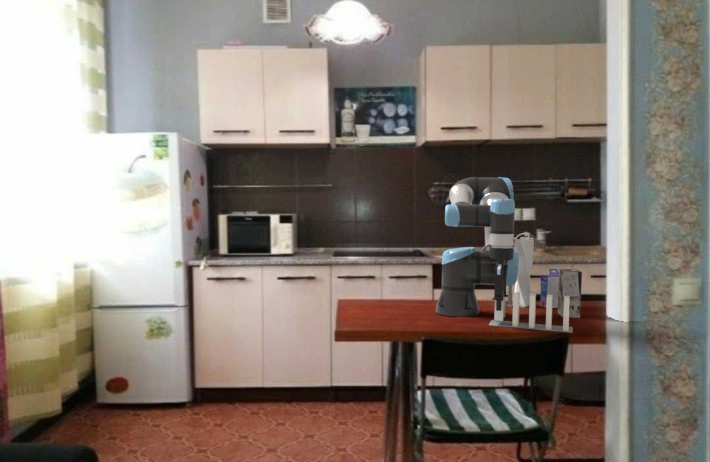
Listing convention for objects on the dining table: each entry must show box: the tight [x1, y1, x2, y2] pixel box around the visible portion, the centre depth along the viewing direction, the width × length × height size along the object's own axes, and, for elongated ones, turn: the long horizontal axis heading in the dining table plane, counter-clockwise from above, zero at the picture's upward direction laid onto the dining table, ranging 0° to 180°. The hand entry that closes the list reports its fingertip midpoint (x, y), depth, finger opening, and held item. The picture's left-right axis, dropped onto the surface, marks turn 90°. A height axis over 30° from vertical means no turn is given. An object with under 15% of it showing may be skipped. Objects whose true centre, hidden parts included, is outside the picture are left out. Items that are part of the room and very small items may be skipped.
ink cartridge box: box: [539, 268, 559, 309], centre depth 209 cm, size 10×6×14 cm, turn 104°
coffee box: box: [557, 268, 583, 319], centre depth 194 cm, size 9×6×16 cm
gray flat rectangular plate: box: [488, 319, 574, 334], centre depth 174 cm, size 25×8×1 cm, turn 69°
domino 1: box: [511, 292, 520, 327], centre depth 175 cm, size 2×5×10 cm, turn 159°
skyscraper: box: [506, 232, 535, 309], centre depth 211 cm, size 8×8×28 cm
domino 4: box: [562, 296, 570, 331], centre depth 170 cm, size 2×5×10 cm, turn 159°
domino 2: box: [528, 293, 537, 328], centre depth 173 cm, size 2×5×10 cm, turn 159°
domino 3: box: [545, 295, 553, 330], centre depth 172 cm, size 2×5×10 cm, turn 159°
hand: (499, 318), depth 177 cm, fingers closed on teal domino, 5 cm apart
